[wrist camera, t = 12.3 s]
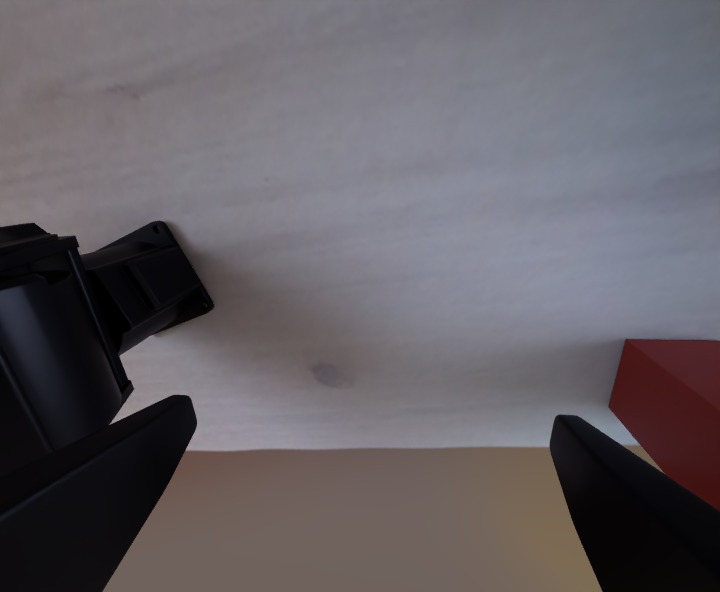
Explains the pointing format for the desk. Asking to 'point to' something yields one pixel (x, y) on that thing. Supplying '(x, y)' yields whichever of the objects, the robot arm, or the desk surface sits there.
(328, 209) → the desk surface
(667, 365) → the red block
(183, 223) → the desk surface
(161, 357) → the desk surface
